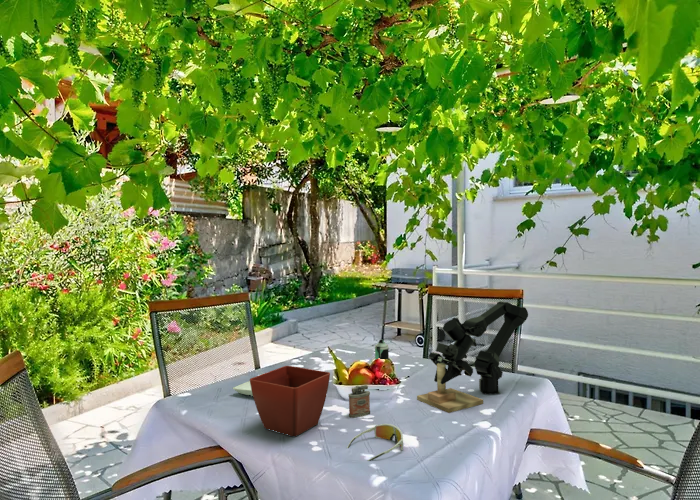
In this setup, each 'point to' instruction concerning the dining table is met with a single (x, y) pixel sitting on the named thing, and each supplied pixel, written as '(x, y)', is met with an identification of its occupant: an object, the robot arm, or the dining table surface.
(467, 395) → the board
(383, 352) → the spray can
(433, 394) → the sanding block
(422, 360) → the dining table surface
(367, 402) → the lighter
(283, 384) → the plant pot
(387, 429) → the sunglasses
